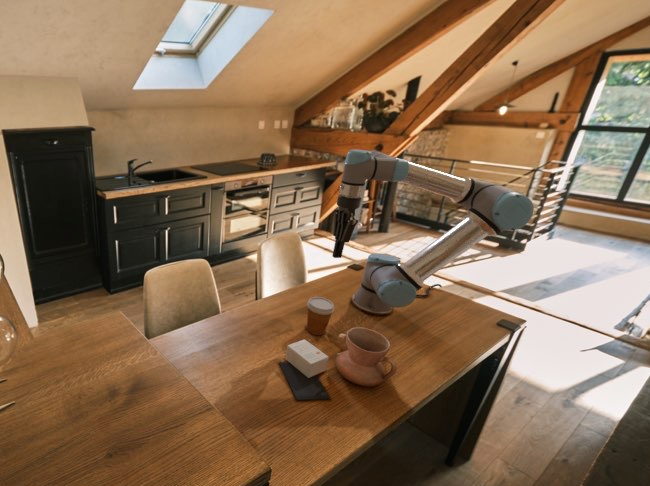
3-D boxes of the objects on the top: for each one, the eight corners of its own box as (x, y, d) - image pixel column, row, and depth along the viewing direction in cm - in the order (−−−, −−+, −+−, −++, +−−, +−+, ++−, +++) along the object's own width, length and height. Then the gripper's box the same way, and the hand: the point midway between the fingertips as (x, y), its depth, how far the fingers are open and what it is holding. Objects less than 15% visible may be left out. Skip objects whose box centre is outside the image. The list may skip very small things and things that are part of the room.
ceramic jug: (321, 369, 124) (330, 333, 118) (344, 352, 132) (353, 317, 127) (377, 404, 111) (389, 365, 105) (398, 382, 119) (411, 345, 114)
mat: (279, 363, 126) (279, 362, 126) (308, 362, 127) (308, 361, 127) (297, 400, 111) (297, 399, 111) (329, 399, 112) (330, 398, 112)
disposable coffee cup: (325, 324, 148) (331, 297, 143) (331, 339, 139) (338, 311, 134) (300, 322, 148) (305, 295, 144) (305, 336, 140) (310, 309, 135)
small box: (284, 358, 128) (307, 378, 119) (287, 344, 126) (311, 364, 117) (302, 352, 131) (326, 371, 123) (304, 338, 129) (329, 357, 121)
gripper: (331, 190, 138) (319, 249, 148) (348, 200, 126) (335, 264, 136) (351, 190, 139) (338, 249, 148) (370, 201, 127) (355, 264, 136)
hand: (336, 256), depth 142 cm, fingers closed
